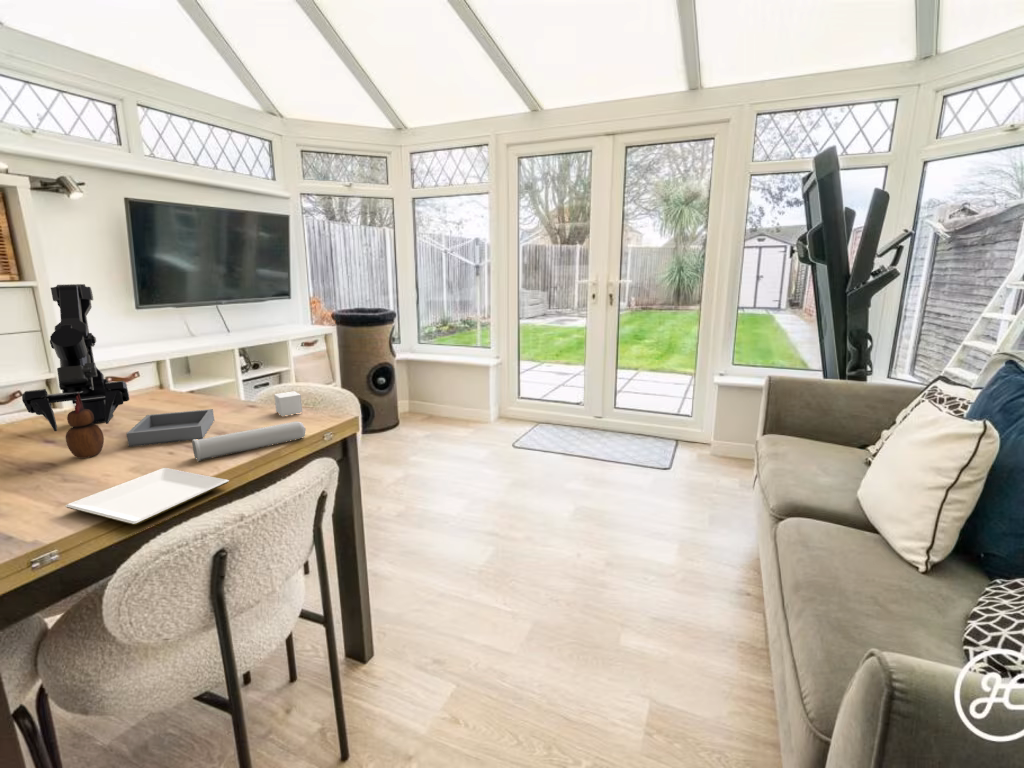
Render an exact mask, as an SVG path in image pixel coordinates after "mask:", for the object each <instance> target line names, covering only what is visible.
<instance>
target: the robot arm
mask: <svg viewBox="0 0 1024 768" xmlns="http://www.w3.org/2000/svg"><path fill="white" fill-rule="evenodd" d="M50 292H51V297H52V301H53V302H56V303H57V306H58V307H59V313H60V322H58V323H57V324H56V325H55V326H54V331H53V332H52V333H51V334H50V340H49V344H50V347H51V349H53V350H54V351H55V354H56V356H57V358H58V359H59V365H60V367H57V368H56V371H57V372H56V373H57V377H58V379H57V380H58V387H59V389H60V391H62V392H60V393H59V392H58V393H57V392H56V393H49V394H48V391H47V390H46V388H45V389H44V388H42V389H33V390H25V391H24V392H23V393H22V394H21V396H22V398H21V399H22V403H23V404H24V406H25V408H26V410H27V412H28V413H30V414H36V415H38V416H43V417H44V418H45V419H46V420H47V421H48V423H49V424H50V426H51V428H52V429H53V432H57V431H58V425H57V421H56V416H55V413H54V411H53V408H52V404H53V403H54V404H55V403H63V402H64V403H65V402H70V401H71V402H72V404H73V405H76V403H75V402H76V396H78V393H79V394H80V398H81V401H82V404H83V408H84V409H89V410H90V411H92V413H93V415H94V421H93V422H92V423H93V424H98V422H100V423H105V424H106V425H108V424H109V423H110V421H111V419H113V417H114V412H115V411H116V409H117V408H118V407H119V406H121V405H124V403H125V402H126V403H127V402H128V401H130V394H129V389H128V385H127V382H126V381H124V380H118V381H109V380H108V379H107V378H105V375H104V374H103V373H102V371H100V370H99V369H98V367H97V366H96V363H95V359H94V354H93V347H95V346H96V342H97V337H96V336H95V335H94V334H93V333H92V332H90V329H89V324H88V323H89V322H88V318H87V316H88V314H89V312H90V311H91V310H92V301H94V295H93V291H92V287H91V286H86V284H84V283H83V284H82V283H80V284H79V283H75V284H72V283H71V284H56V285H55V286H53V287H52V286H51V287H50Z"/></svg>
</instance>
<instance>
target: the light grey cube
mask: <svg viewBox="0 0 1024 768" xmlns="http://www.w3.org/2000/svg"><path fill="white" fill-rule="evenodd" d="M273 395H274V405H275V413H276V412H278V413H279V414H280V415H281V416H285V415H291V414H296V413H300V412H302V413H303V406H302V405H303V404H302V395H301V394H300V393H299V392H297V391H295V390H294V391H287V392H280V393H274V394H273ZM280 415H279V416H280ZM281 416H280V417H281ZM291 416H292V415H291Z"/></svg>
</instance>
